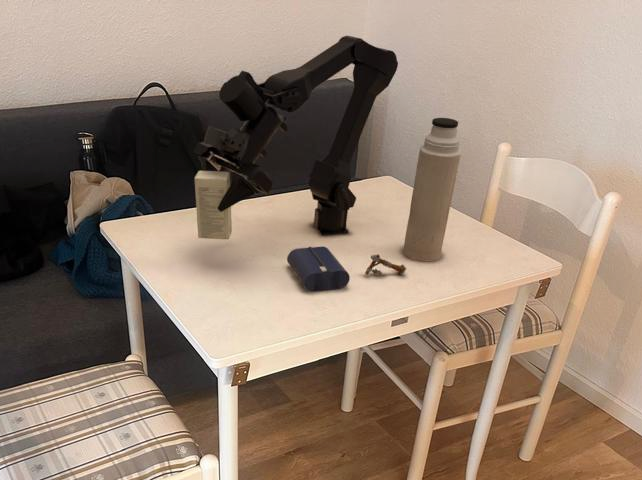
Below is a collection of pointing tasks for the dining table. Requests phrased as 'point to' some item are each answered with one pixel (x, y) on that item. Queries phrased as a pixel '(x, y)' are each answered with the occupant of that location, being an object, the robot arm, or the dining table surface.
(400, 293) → the dining table surface
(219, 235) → the cosmetic box
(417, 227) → the thermos bottle
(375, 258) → the wooden post with brackets
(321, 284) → the pouch
